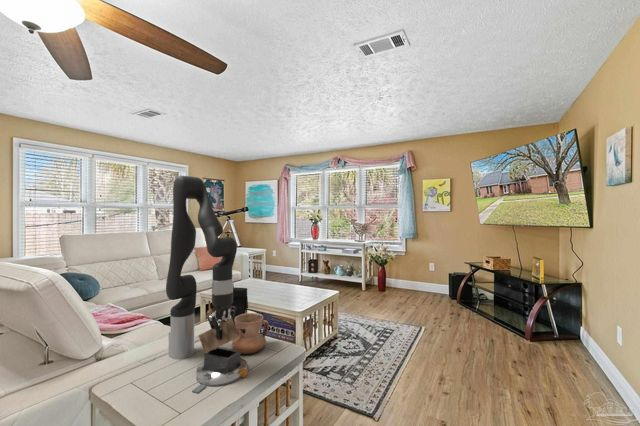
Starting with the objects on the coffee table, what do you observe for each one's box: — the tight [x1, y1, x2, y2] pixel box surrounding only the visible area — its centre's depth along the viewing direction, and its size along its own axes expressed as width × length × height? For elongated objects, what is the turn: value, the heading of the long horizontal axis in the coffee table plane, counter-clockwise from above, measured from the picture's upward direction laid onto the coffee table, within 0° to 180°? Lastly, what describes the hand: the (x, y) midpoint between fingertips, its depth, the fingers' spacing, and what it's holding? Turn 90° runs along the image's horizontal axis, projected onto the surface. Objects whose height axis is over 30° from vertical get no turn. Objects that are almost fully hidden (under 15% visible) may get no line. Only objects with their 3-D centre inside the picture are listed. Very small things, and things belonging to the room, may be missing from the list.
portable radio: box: [231, 283, 249, 335], centre depth 147 cm, size 8×6×25 cm
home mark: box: [191, 383, 207, 394], centre depth 101 cm, size 2×4×1 cm, turn 158°
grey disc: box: [195, 346, 248, 387], centre depth 111 cm, size 19×18×7 cm
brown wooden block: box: [198, 319, 239, 354], centre depth 112 cm, size 7×3×15 cm
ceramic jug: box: [231, 312, 269, 355], centre depth 131 cm, size 18×14×14 cm
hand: (222, 337), depth 111 cm, fingers closed on brown wooden block, 3 cm apart
